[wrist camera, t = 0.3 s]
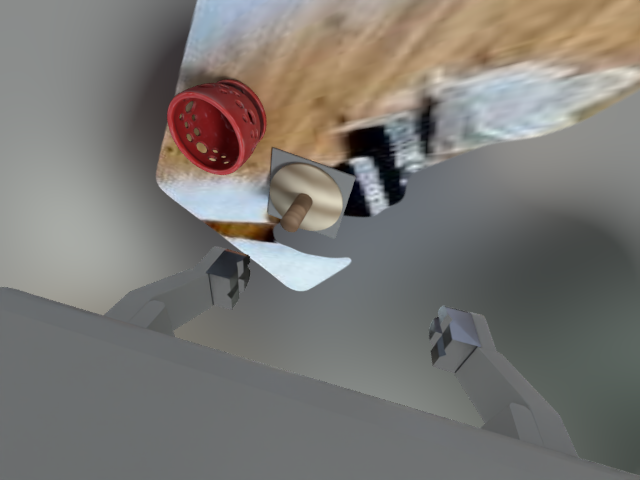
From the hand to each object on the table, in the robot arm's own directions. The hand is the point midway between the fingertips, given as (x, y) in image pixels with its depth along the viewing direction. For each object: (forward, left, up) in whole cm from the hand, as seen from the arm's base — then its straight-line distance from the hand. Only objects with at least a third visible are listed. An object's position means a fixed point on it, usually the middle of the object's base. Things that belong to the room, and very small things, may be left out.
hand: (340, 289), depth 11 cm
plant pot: (+13, -27, -39) cm, 49 cm away
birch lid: (+26, -12, -39) cm, 48 cm away
